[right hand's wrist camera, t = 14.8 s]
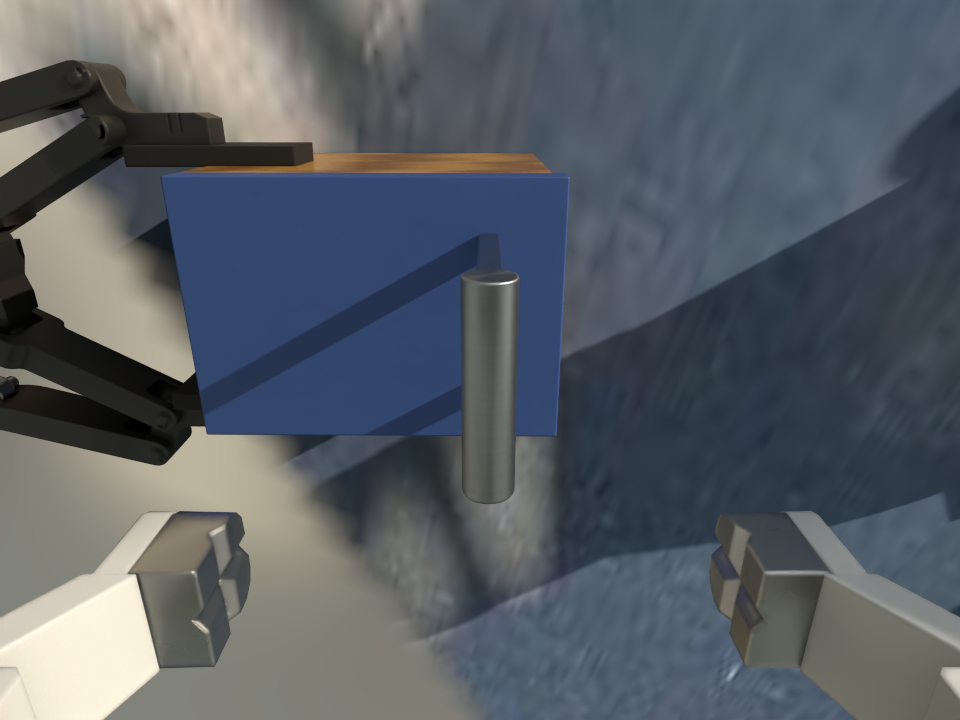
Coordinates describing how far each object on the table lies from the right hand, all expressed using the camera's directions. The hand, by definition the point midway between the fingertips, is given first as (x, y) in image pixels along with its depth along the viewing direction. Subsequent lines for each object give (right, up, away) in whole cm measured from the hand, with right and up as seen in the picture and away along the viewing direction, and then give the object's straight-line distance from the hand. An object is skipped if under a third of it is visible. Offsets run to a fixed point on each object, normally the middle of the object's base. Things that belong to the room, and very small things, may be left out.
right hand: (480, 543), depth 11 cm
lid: (-4, +5, +13) cm, 14 cm away
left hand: (-7, +7, +16) cm, 19 cm away
